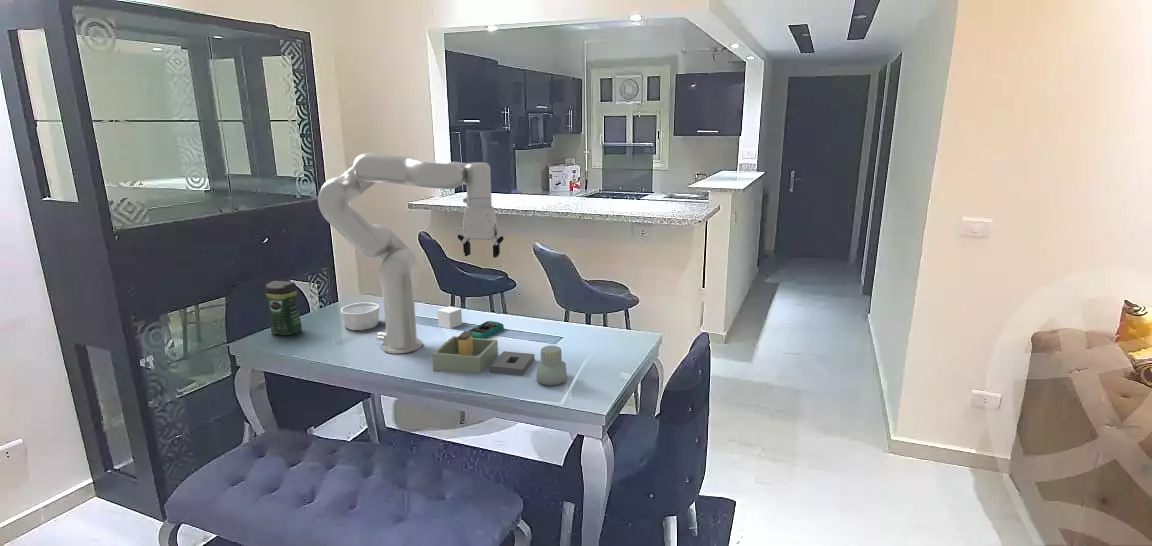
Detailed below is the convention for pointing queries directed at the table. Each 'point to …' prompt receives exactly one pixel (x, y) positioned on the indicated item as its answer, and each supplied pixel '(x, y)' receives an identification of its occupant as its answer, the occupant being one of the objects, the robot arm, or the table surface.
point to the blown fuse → (465, 343)
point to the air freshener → (551, 367)
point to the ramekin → (360, 316)
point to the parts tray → (465, 356)
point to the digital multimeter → (486, 329)
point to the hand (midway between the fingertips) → (481, 256)
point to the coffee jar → (283, 307)
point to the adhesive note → (449, 317)
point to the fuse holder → (512, 363)
